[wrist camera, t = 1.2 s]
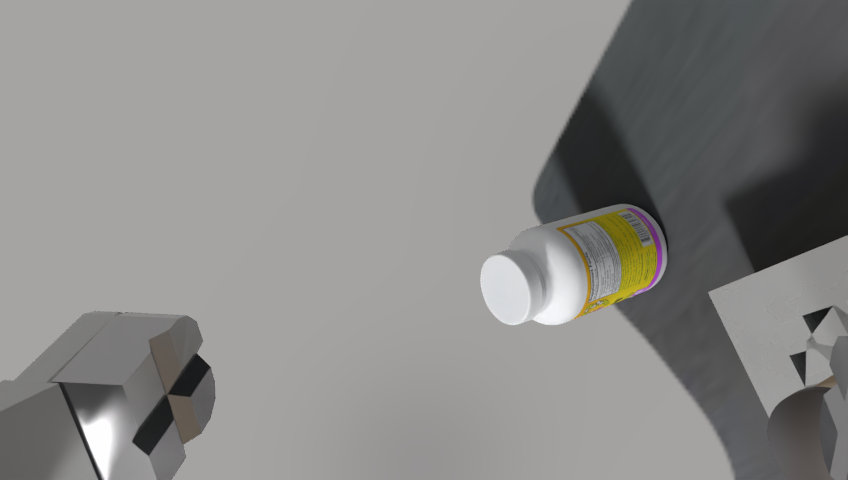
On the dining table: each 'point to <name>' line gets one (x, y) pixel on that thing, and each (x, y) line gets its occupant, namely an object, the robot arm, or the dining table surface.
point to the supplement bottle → (575, 266)
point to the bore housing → (788, 320)
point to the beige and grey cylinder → (799, 433)
